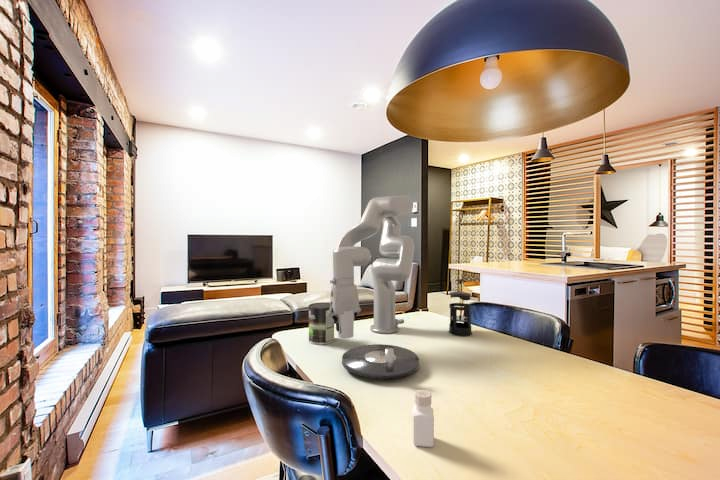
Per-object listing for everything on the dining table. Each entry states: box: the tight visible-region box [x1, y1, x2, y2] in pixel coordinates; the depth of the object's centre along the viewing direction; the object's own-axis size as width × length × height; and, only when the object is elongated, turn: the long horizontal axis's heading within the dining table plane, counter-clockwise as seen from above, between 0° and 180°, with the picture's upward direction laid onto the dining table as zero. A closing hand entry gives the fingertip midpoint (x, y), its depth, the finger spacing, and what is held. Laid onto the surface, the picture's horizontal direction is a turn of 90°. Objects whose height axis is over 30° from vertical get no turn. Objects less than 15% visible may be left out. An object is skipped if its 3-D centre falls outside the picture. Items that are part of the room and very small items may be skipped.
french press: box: [448, 278, 473, 337], centre depth 135 cm, size 12×9×23 cm
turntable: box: [341, 343, 420, 379], centre depth 99 cm, size 24×24×9 cm
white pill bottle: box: [412, 389, 435, 448], centre depth 62 cm, size 4×4×10 cm
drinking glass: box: [336, 310, 355, 339], centre depth 116 cm, size 7×7×10 cm
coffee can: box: [308, 302, 335, 346], centre depth 125 cm, size 10×10×14 cm
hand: (344, 330), depth 116 cm, fingers closed on drinking glass, 3 cm apart
